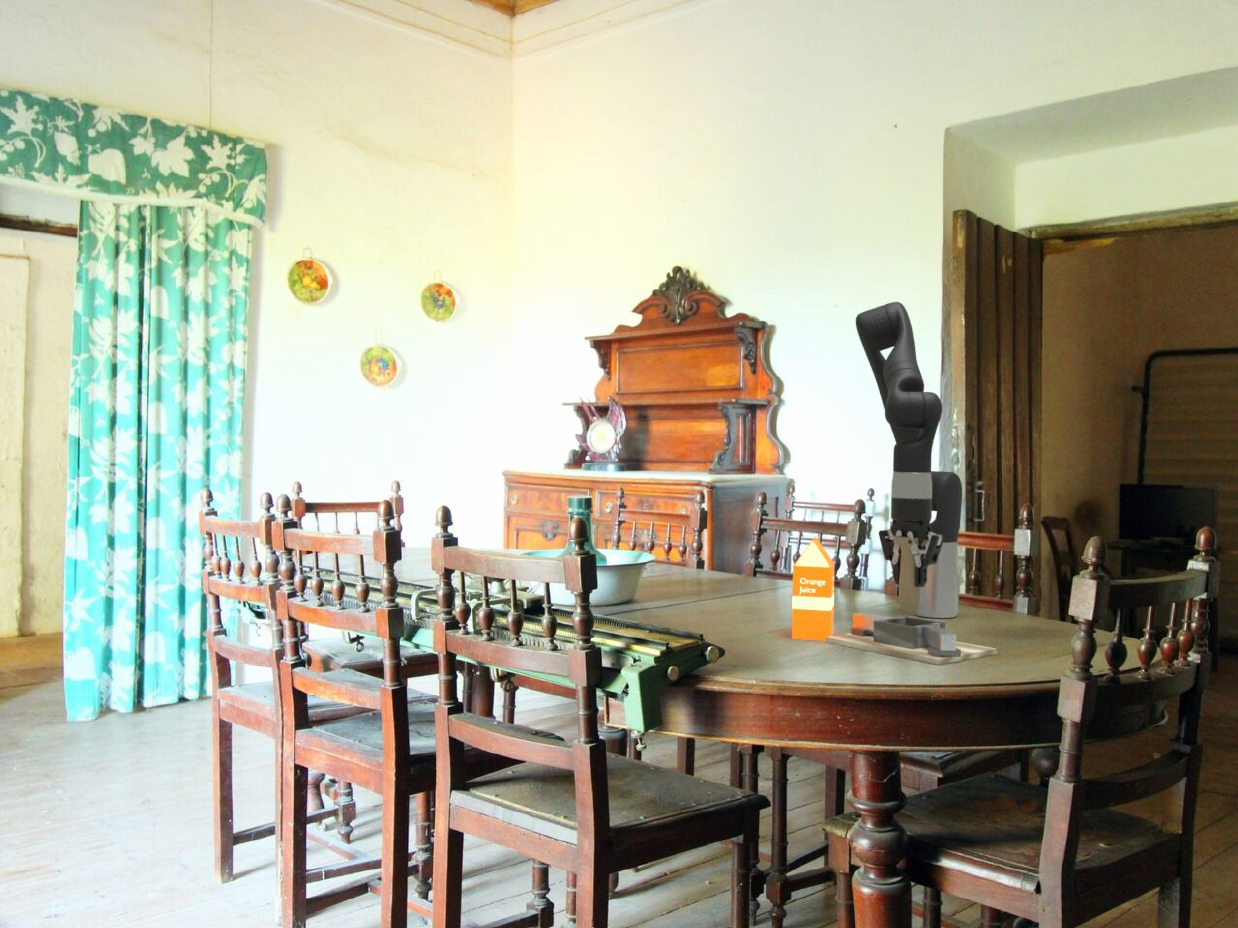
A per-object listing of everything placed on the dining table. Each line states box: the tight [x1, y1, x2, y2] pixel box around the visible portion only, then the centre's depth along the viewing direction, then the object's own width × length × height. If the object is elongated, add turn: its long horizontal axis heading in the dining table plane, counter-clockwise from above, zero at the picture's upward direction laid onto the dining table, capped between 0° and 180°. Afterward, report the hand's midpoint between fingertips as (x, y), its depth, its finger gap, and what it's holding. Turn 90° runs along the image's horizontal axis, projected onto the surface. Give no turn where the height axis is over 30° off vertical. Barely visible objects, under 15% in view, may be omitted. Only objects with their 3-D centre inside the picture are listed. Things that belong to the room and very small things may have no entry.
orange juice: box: [791, 536, 835, 642], centre depth 209 cm, size 8×9×20 cm
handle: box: [893, 536, 928, 617], centre depth 198 cm, size 5×6×15 cm
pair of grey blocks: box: [850, 612, 961, 657], centre depth 196 cm, size 10×26×4 cm, turn 38°
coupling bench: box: [825, 615, 998, 666], centre depth 198 cm, size 18×26×5 cm
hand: (909, 584), depth 198 cm, fingers closed on handle, 4 cm apart
